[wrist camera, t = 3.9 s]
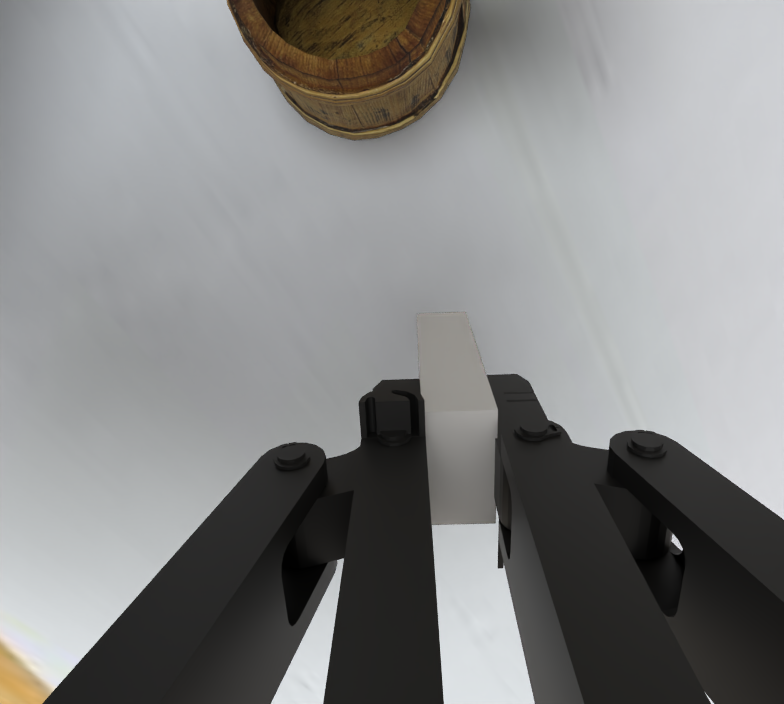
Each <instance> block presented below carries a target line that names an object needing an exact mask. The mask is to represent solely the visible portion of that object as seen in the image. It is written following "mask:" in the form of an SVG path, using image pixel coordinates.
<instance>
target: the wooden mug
mask: <svg viewBox="0 0 784 704" xmlns="http://www.w3.org/2000/svg"><path fill="white" fill-rule="evenodd" d="M227 5H228V7H229V9H230V11H231V13H232V15H233V17H234V20H235V22H236V24H237V26H238V29H239V31H240V33H241V36H242V38H243V41H244V42H245V44H246V45H247V46H248V48H249V49H250V51H251V52H252V54H253V55H254V57H255V58H256V60H257V61H258V63H259V64H260V65H261V67H262V68H263V70H264V71H265V72H266V73H267V74H269V75H270V76H271V77H272V78H273V79H274V81H275V83H276V84H277V86H278V87H279V89H280V91H281V92H282V94H283V96H284V97H285V99H286V100H287V102H288V103H289V104H290V105H291V106H292V107H293V108H294V109H295V110H296V111H297V112H298V113H299V114H300V115H301V116H302V117H303V118H304V119H305V120H306V121H307V122H309V123H311V124H312V125H314V126H316V127H318V128H320V129H322V130H323V131H325V132H327V133H329V134H331V135H335V136H339V137H343V138H347V139H351V140H362V139H371V138H379V137H381V136H384V135H387V134H390V133H392V132H395V131H398V130H401V129H403V128H405V127H406V126H408V125H410V124H412V123H413V122H415V121H417V120H418V119H420V118H421V117H422V116H423V115H424V114H425V113H426V112H427V111H428V110H429V109H430V108H431V107H432V106H434V105H435V104H436V103H437V102H438V101H439V100H440V99H441V97H442V96H443V94H444V92H445V91H446V89H447V88H448V86H449V84H450V83H451V81H452V79H453V78H454V76H455V74H456V73H457V71H458V68H459V64H460V60H461V56H462V52H463V48H464V44H465V40H466V34H467V27H468V21H469V14H470V0H227Z"/></svg>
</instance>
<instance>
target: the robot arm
mask: <svg viewBox="0 0 784 704" xmlns="http://www.w3.org/2000/svg"><path fill="white" fill-rule="evenodd" d="M417 336H418V365H419V379H402V380H382V381H381V382H380V383H379V384H378V385H376V386H375V387H374V388H373V391H372V392H369V393H368V394H366V395H364V396H363V397H362V398H361V399H360V401H359V414H360V426H361V445H360V447H358V448H357V449H356V450H354V451H352V452H350V453H347V454H344V455H341V456H337V457H333V458H328V459H326V455H325V453H324V451H323V449H321V448H320V447H318V446H316V445H313V444H309V443H296V442H293V443H289V444H283V445H280V446H278V447H276V448H273V449H271V450H269V451H268V452H266V453H265V454H264V455H263V456H261V457H260V459H259V460H258V461H257V462H256V463H255V464H254V465H253V466H252V468H251V469H250V470H249V471H248V472H247V473H246V474H245V476H244V477H243V478H242V479H241V480H240V481H239V482H238V483H237V485H236V486H235V487H234V488H233V489H232V490H231V491H230V492H229V494H228V495H227V496H226V497H225V498H224V499H223V500H222V501H221V503H220V504H219V505H218V506H217V507H216V508H215V509H214V511H213V512H212V513H211V514H210V515H209V516H208V517H207V518H206V520H205V521H204V522H203V523H202V524H201V525H200V526H199V527H198V529H197V530H196V531H195V532H194V533H193V534H192V535H191V536H190V538H189V539H188V540H187V541H186V542H185V543H184V544H183V546H182V547H181V548H180V549H179V550H178V551H177V552H176V553H175V555H174V556H173V557H172V558H171V559H170V560H169V561H168V562H167V564H166V565H165V566H164V567H163V568H162V569H161V570H160V571H159V573H158V574H157V575H156V576H155V577H154V578H153V579H152V581H151V582H150V583H149V584H148V585H147V586H146V587H145V588H144V590H143V591H142V592H141V593H140V594H139V595H138V596H137V597H136V599H135V600H134V601H133V602H132V603H131V604H130V605H129V606H128V608H127V609H126V610H125V611H124V612H123V613H122V614H121V616H120V617H119V618H118V619H117V620H116V621H115V622H114V623H113V625H112V626H111V627H110V628H109V629H108V630H107V631H106V632H105V634H104V635H103V636H102V637H101V638H100V639H99V640H98V641H97V643H96V644H95V645H94V646H93V647H92V648H91V649H90V651H89V652H88V653H87V654H86V655H85V656H84V657H83V658H82V660H81V661H80V662H79V663H78V664H77V665H76V666H75V667H74V669H73V670H72V671H71V672H70V673H69V674H68V675H67V676H66V678H65V679H64V680H63V681H62V682H61V683H60V684H59V686H58V687H57V688H56V689H55V690H54V691H53V692H52V693H51V695H50V696H49V697H48V698H47V699H46V700H45V701H44V702H43V704H271V702H272V700H273V698H274V696H275V694H276V692H277V689H278V687H279V685H280V683H281V681H282V679H283V677H284V675H285V673H286V671H287V669H288V667H289V665H290V663H291V661H292V659H293V657H294V655H295V653H296V651H297V649H298V647H299V645H300V643H301V641H302V639H303V636H304V634H305V632H306V630H307V628H308V626H309V624H310V622H311V620H312V618H313V616H314V614H315V612H316V610H317V608H318V606H319V604H320V602H321V600H322V598H323V596H324V594H325V592H326V590H327V588H328V586H329V583H330V581H331V579H332V577H333V575H334V573H335V571H336V566H337V560H339V559H342V558H344V563H343V570H342V577H341V584H340V591H339V598H338V605H337V612H336V619H335V626H334V633H333V640H332V647H331V654H330V661H329V668H328V675H327V682H326V689H325V696H324V703H323V704H444V701H443V686H442V672H441V657H440V642H439V627H438V613H437V598H436V583H435V568H434V553H433V539H432V525H447V524H489V523H496V507H497V511H498V516H499V537H498V568H503V565H504V566H505V570H506V575H507V579H508V584H509V588H510V593H511V597H512V602H513V606H514V611H515V615H516V620H517V624H518V629H519V633H520V638H521V642H522V647H523V651H524V656H525V660H526V665H527V669H528V674H529V678H530V683H531V687H532V692H533V696H534V701H535V704H711V703H710V701H709V699H708V697H707V696H706V694H707V695H708V696H709V698H710V699H711V700H712V701H713V703H714V704H784V520H783V519H782V518H781V517H779V516H778V515H776V514H775V513H774V512H772V511H771V510H770V509H768V508H767V507H765V506H764V505H763V504H761V503H760V502H759V501H757V500H756V499H754V498H753V497H752V496H750V495H749V494H748V493H746V492H745V491H743V490H742V489H741V488H739V487H738V486H737V485H735V484H734V483H732V482H731V481H730V480H728V479H727V478H725V477H724V476H723V475H721V474H720V473H719V472H717V471H716V470H714V469H713V468H712V467H710V466H709V465H708V464H706V463H705V462H703V461H702V460H701V459H699V458H698V457H697V456H695V455H694V454H692V453H691V452H690V451H688V450H687V449H686V448H684V447H683V446H681V445H680V444H679V443H677V442H676V441H674V440H672V439H670V438H668V437H666V436H663V435H660V434H657V433H655V432H652V431H644V430H635V431H624V432H621V433H618V434H615V435H614V436H613V437H612V438H611V439H610V445H609V450H605V449H598V448H591V447H586V446H581V445H577V444H574V443H572V441H571V439H570V437H569V436H568V434H567V432H566V431H565V430H564V429H563V428H562V426H560V425H558V424H556V423H554V422H552V421H549V420H548V419H547V417H546V415H545V413H544V411H543V409H542V407H541V405H540V403H539V401H538V399H537V397H536V395H535V393H534V391H533V389H532V387H531V385H530V383H529V382H528V381H527V380H525V379H524V378H522V377H521V376H519V375H518V374H504V375H486V372H485V369H484V366H483V363H482V360H481V357H480V354H479V351H478V348H477V345H476V342H475V339H474V336H473V333H472V330H471V327H470V324H469V321H468V318H467V315H466V312H447V313H422V314H417ZM672 534H674V535H675V536H676V537H677V539H678V540H679V542H680V544H681V546H682V548H683V551H681V550H680V549H679V548H677V547H676V546H675V545H674V544H673V543H672V542H671V540H672ZM704 691H705V692H704ZM705 693H706V694H705Z"/></svg>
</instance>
